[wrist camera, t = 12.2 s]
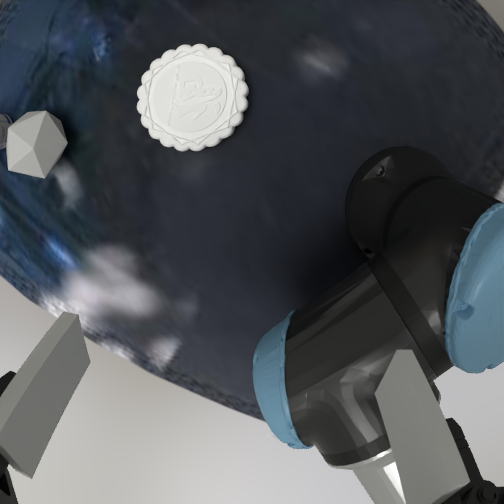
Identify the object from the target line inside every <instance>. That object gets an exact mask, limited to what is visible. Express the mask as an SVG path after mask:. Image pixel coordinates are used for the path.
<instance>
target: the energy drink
mask: <svg viewBox="0 0 504 504" xmlns="http://www.w3.org/2000/svg"><path fill="white" fill-rule="evenodd" d="M12 124H13V123H12V120H11V118H10V117H9V116H8V115H7V114H0V149H3V148H5V147H6V145H7V135H8V128H9V127H10V126H11V125H12Z"/></svg>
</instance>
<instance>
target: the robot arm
mask: <svg viewBox="0 0 504 504" xmlns="http://www.w3.org/2000/svg"><path fill="white" fill-rule="evenodd" d="M345 215H346V222H347V226H348V229H349V232H350V234H351V236H352V238H353V240H354V241H355V243H356V244H357V246H358V247H359V249H360V250H361V251H362V252H363V253H364V254H365V255H366V256H367V257H368V258H369V259H370V260H369V261H367V262H365V263H364V264H363V265H361V266H360V267H359V268H357V269H356V270H354V271H353V272H352V273H350V274H349V275H348V276H346V277H345V278H343V279H342V280H341V281H339V282H338V283H336V284H335V285H334V286H332V287H331V288H329V289H328V290H327V291H325V292H324V293H322V294H321V295H319V296H318V297H317V298H315V299H314V300H312V301H311V302H309V303H308V304H306V305H305V306H303V307H302V308H300V309H296V310H293V311H292V312H290V313H289V314H288V316H287V318H286V319H284V320H283V321H282V322H280V323H279V324H278V325H276V326H275V327H274V328H272V329H271V330H269V331H268V332H267V333H266V334H265V335H264V336H263V337H262V338H261V339H260V341H259V343H258V345H257V347H256V349H255V353H254V358H253V365H254V368H253V384H254V389H255V394H256V398H257V401H258V404H259V407H260V409H261V412H262V414H263V416H264V418H265V420H266V422H267V424H268V426H269V427H270V429H271V430H272V432H273V433H274V434H275V435H276V437H277V438H278V439H279V440H280V441H282V442H283V443H287V444H288V446H289V447H292V448H294V449H309V448H311V447H313V446H314V445H315V446H316V447H317V449H318V450H319V452H320V453H321V455H322V456H323V457H324V459H325V461H326V462H327V463H328V465H329V466H331V467H333V468H338V469H349V470H353V472H354V473H355V475H356V476H357V478H358V479H359V481H360V482H361V484H362V485H363V487H364V488H365V490H366V491H367V493H368V494H369V495H370V497H371V499H372V500H373V502H374V503H375V504H504V487H496V486H495V485H494V484H493V483H492V482H490V481H486V480H483V478H482V476H481V474H480V472H479V469H478V467H477V464H476V462H475V459H474V457H473V454H472V452H471V450H470V448H469V447H468V446H469V445H468V443H467V441H466V439H465V436H464V434H463V431H462V429H461V427H460V426H459V425H458V423H456V421H455V420H454V419H453V418H448V419H445V418H444V415H443V413H442V411H441V409H440V407H439V404H440V399H441V395H440V392H439V390H438V389H437V387H436V385H435V383H434V382H433V380H434V379H436V378H437V377H439V376H440V375H441V374H442V373H444V372H446V371H447V370H448V369H450V368H451V367H453V366H454V365H455V366H456V367H458V368H460V369H462V370H463V371H465V372H467V373H481V372H484V370H485V369H486V368H487V369H492V368H494V367H496V366H498V365H499V364H501V363H502V362H504V203H503V202H501V201H499V200H497V199H495V198H493V197H490V196H488V195H486V194H484V193H482V192H480V191H478V190H476V189H473V188H471V187H469V186H467V185H465V184H463V183H460V182H458V181H456V180H455V178H454V177H453V176H452V174H451V173H450V172H449V171H448V169H447V168H446V167H445V165H444V164H443V163H442V162H441V161H440V160H438V159H437V158H436V157H434V156H433V155H431V154H429V153H427V152H424V151H421V150H418V149H415V148H411V147H393V148H389V149H386V150H383V151H381V152H379V153H377V154H375V155H374V156H372V157H371V158H370V159H368V160H367V161H366V162H365V163H364V164H363V165H362V166H361V168H360V169H359V170H358V171H357V173H356V174H355V176H354V178H353V180H352V182H351V184H350V186H349V189H348V193H347V197H346V204H345ZM89 364H90V359H89V355H88V352H87V348H86V344H85V340H84V336H83V332H82V328H81V324H80V320H79V315H77V314H73V313H68V312H63V313H62V314H61V315H60V317H59V318H58V319H57V320H56V321H55V323H54V324H53V325H52V327H51V328H50V329H49V330H48V332H47V333H46V334H45V335H44V337H43V338H42V339H41V341H40V342H39V343H38V345H37V346H36V347H35V349H34V350H33V351H32V353H31V354H30V355H29V357H28V358H27V360H26V361H25V362H24V364H23V365H22V366H21V368H20V369H19V371H18V372H17V373H15V372H12V371H9V372H8V373H7V374H5V375H4V376H2V377H1V378H0V504H18V501H17V498H16V495H15V492H14V488H13V485H12V481H11V478H10V474H9V471H8V469H7V467H8V464H10V465H11V466H12V467H13V468H14V469H15V470H16V471H17V472H19V473H21V474H23V475H25V476H27V477H29V478H31V479H32V478H33V475H34V473H35V471H36V468H37V466H38V464H39V462H40V460H41V457H42V455H43V453H44V451H45V449H46V447H47V445H48V442H49V440H50V438H51V436H52V434H53V432H54V430H55V428H56V426H57V424H58V422H59V420H60V418H61V416H62V414H63V412H64V410H65V408H66V407H67V405H68V403H69V401H70V399H71V397H72V395H73V393H74V391H75V390H76V388H77V386H78V384H79V382H80V380H81V378H82V377H83V375H84V373H85V371H86V369H87V368H88V366H89Z"/></svg>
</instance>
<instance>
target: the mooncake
mask: <svg viewBox="0 0 504 504" xmlns="http://www.w3.org/2000/svg"><path fill="white" fill-rule="evenodd" d="M244 80H245V76H244V73H243V71H242V70H241V69H240V68H239V67H237V65H236V63H235V61H234V59H233V58H232V57H231V56H228V55H224V54H223V52H222V51H221V50H220V49H218V48H215V47H212V48H208V47H207V46H206V45H204V44H196V45H194V46H193V47H191V46H190V45H181V46H180V47H178V48H177V49H176V50H168V51H166V52H165V53H164V54H163V55H162V58H160V59H156V60H154V61H153V62H152V63H151V65H150V70H149V71H147V72H145V73H144V75H143V76H142V85H141V86H140V87H139V89H138V91H137V96H138V98H139V99H140V100H139V102H138V104H137V110H138V112H139V113H140V114H141V115H142V116H141V123H142V125H143V126H144V127H146V128H149V134H150V136H151V137H152V138H154V139H160V142H161V143H162V145H164V146H166V147H172V146H174V147H175V148H176V149H177V150H178V151H186V150H188V149H191V150H193V151H200V150H202V149H204V148H206V147H207V146H208V147H213V146H215V145H217V144H219V143H220V142H221V141H222V139H223V138H227V137H229V136H230V135H232V134H233V132H234V130H235V126H237V125H239V124H240V123H241V122H242V121H243V112H244V111H246V109H247V108H248V101H247V99H246V97H247V95H248V93H249V89H248V86H247V84H246V83H245V82H244Z"/></svg>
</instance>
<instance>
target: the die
mask: <svg viewBox="0 0 504 504" xmlns="http://www.w3.org/2000/svg"><path fill="white" fill-rule="evenodd" d="M67 143H68V142H67V139H66V136H65V133H64V129H63V126H62V122H61V121H60V120H59V119H57V118H56V117H55V116H53V115H52V114H50V113H49V112H47V111H36V112H27V113H26V114H25V115H24V116H22V117H21V118H20V119H19V120H17V121H16V122H15V123H14V124H12V125H11V126H10V127H9V128H8V135H7V145H6V147H7V160H8V170H10V171H14V172H19V173H23V174H28V175H32V176H36V177H41V178H45V177H46V176H47V175H48V173H49V172H50V171H51V169H52V168H53V167H54V165H55V164H56V163H57V161H58V160H59V159H60V157H61V155H62V153H63V151H64V149H65V147H66V145H67Z"/></svg>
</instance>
